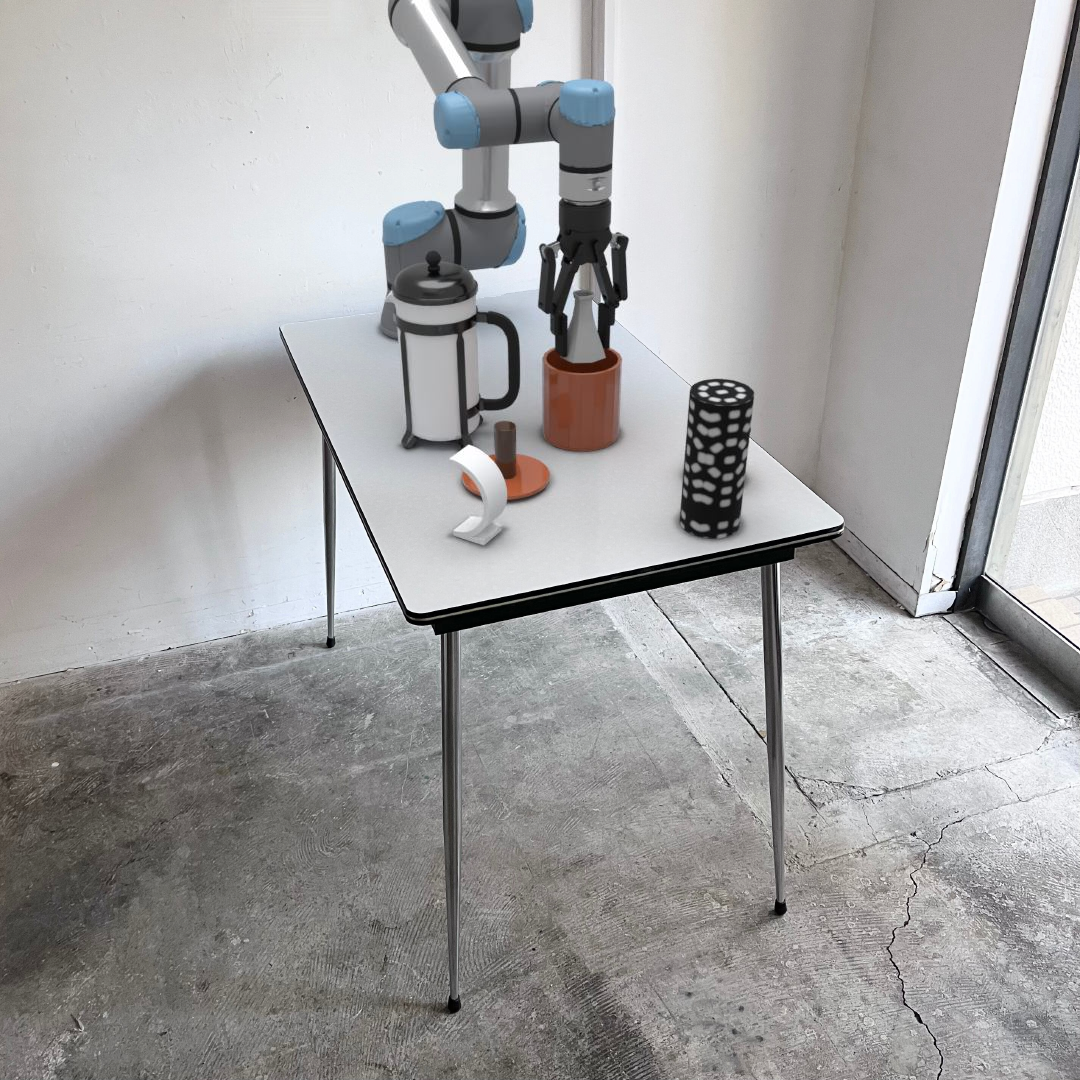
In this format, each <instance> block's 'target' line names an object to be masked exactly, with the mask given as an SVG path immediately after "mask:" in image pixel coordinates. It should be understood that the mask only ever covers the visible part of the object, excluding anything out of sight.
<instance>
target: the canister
mask: <svg viewBox="0 0 1080 1080" xmlns="http://www.w3.org/2000/svg"><path fill="white" fill-rule="evenodd" d="M603 350H604V353H605V357H606V358H604V359H601V360H598V361H595V362H592V363H572V362H570V361H567V360H565V359H563V358H561V356H560V355H559V354H558V353H557V352H555V346H554V347H552V348H550V349H548V350H546V352H544V354H543V356H542V358H541V373H542V374H541V379H542V380H541V382H542V383H541V385H542V388H541V389H542V390H541V396H542V399H541V400H542V402H541V404H542V405H541V406H542V407H541V409H542V411H541V414H542V415H541V416H542V418H541V419H542V424H541V425H542V428H541V429H542V436H543V438H544V440H545V441H546V442H547V443H548V444H550V445H551V446H553V447H555V448H558V449H561V450H565V451H570V452H593V451H598V450H599V451H600V450H603V449H605V448H608V447H609V446H612V445H613V444H614V443H615V442H617V440H618V439H619V435H620V423H621V399H622V396H621V395H622V377H623V376H622V375H623V374H622V373H623V371H622V370H623V358H622V356H621V354H620V352H618V351H617V350H615V348H611V347H610V349H604V348H603Z"/></svg>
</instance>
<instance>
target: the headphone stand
mask: <svg viewBox="0 0 1080 1080" xmlns="http://www.w3.org/2000/svg"><path fill="white" fill-rule="evenodd" d="M488 455H489V454H487V453H486V452H484V451H483V450H481V449H480V448H478V447H475V446H474V445H473V446H471V445H468V446H466V447H465V448H463V449H461V450H459V451H458V452H457V453H455V454H454V455H452V456H451V457H449V458H448V459H449V465H450V466H453V467H455V468H457V469H459V470H461V471H462V472H463V471H464V472H465V473H466V474H467V475H468V476H469V477H470V478H471V479H472V480H473V481H474V483H475V484H476V486H477V488H478V489H479V491H480V494H481V496H480V497H481V499H482V504H483V513H482V514H483V515H482V516H475V515H471V516H469V517H468V518H467V519H466V520H464V521H463V522H462V523H460V525H457V527H456V528H454V529H453V531H452V533H453V534H452V535H453V537H457V538H459V539H463V540H465V541H469V542H472V543H475V544H478V545H481V546H485V545H486V544H488V543H489V542H490V541H491V540H492V539H493V538H494V537H496V536H497V535H498V534H499V533H501V532H502V530H503V525H502V524H500V523H496V522H494V521H496V520H497V519H498V518H499V517H500V516H501V515H502V514H503V512H504V511H505V509H506V507H507V503H508V500H507V488H506V483H505V480H504V477H503V475H502V473H501V471H500V470H499V468H498V467H497V465H496V464H495V463H494V461H493V460H492V459H491V458H490V457H489V456H488Z"/></svg>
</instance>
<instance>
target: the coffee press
mask: <svg viewBox="0 0 1080 1080" xmlns="http://www.w3.org/2000/svg"><path fill="white" fill-rule="evenodd" d="M425 260H426V261H427V262H422V263H418V264H414V265H411V266H409V267H407V268H405V269H404V270H402V271H401V272H400V273H399V274H398V275H397V277H396V280H395V282H394V283H393V284H392V291H391V292H390V293H389V294H388V296H387V297H386V296H385V298H386V299H384V302H392V303H394V304H395V307H396V308H395V323H396V326H397V330H398V339H397V343H398V354H399V367H400V381H401V393H402V406H403V416H404V424H405V425H404V426H405V427H406V428H405V432H404V435H403V436H402V438H401V441H400V444H401V445H402V446H403V447H404V448H407V449H412V448H413V447H414V446H415V444H416V443H417V442H418V441H419V440H421V439H422V440H425V441H432V442H447V441H448V442H449V441H454V440H455V441H456V442H457V443H458V445H459V447H460V449H461V450H462V449H463V448H465V447H466V446H468V445H471V446H474V444H473V442H472V439H471V437H470V435H471V433H473V432H474V431H475V430H476V429H477V427H478V426H479V425H481V424H482V423H483V421H484V417H483V416H482V415H481V414H480V412H483V411H487V412H493V411H495V412H496V411H502V410H505V409H508V408H510V407H511V406H512V405H514V403H515V402H516V400H517V398H518V396H519V394H520V389H521V347H520V346H521V345H520V337H519V332H518V330H517V327H516V326H515V324H514V322H513V321H512V320H511V319H510V318H509V317H508V316H506V315H505V314H503V313H500V312H497V311H493V310H489V311H479V308H478V305H477V293H478V292H479V283H478V281H477V280H476V279H475V278H474V276H473V274H472V272H471V270H470V271H469V270H467V269H466V268H464V267H462V266H460V265H458V264H454V263H450V262H442V261H441V256H440V254H439V253H438V252H437V251H430V252H428V253H427V255H426V258H425ZM478 323H479V324H480V323H481V324H487V325H493V326H496V327H498V328H500V329H501V330H502V332H503V333H504V335H505V337H506V341H507V371H508V375H507V376H508V386H507V388H508V389H507V392H506V393H505V395H503V396H502V397H499V398H484V397H482V396H481V393H480V380H479V379H480V378H479V353H478V352H479V350H478V348H479V347H478ZM412 435H413V436H412ZM411 436H412V437H411Z"/></svg>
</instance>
